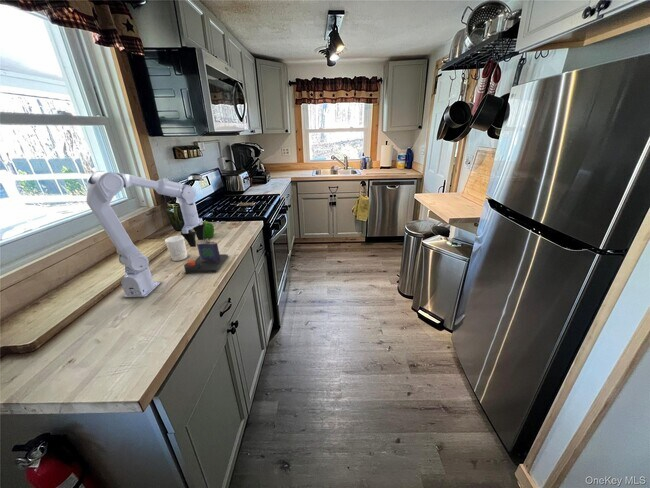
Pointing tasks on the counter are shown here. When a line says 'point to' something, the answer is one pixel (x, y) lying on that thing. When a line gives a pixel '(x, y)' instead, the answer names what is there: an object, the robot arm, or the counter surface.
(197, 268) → the scale
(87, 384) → the counter surface
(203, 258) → the dark blue flat block
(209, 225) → the bell pepper
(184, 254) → the white cup
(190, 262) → the tare button
